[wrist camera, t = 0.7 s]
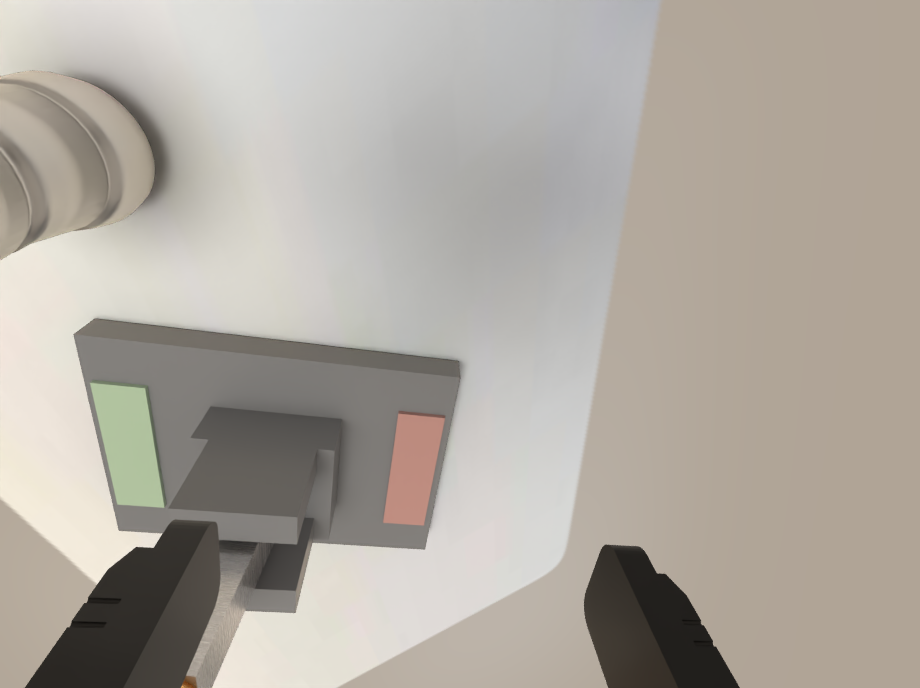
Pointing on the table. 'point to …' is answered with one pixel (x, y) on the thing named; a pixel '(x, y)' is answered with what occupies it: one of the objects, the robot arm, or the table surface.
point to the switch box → (268, 440)
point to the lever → (227, 607)
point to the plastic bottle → (66, 159)
